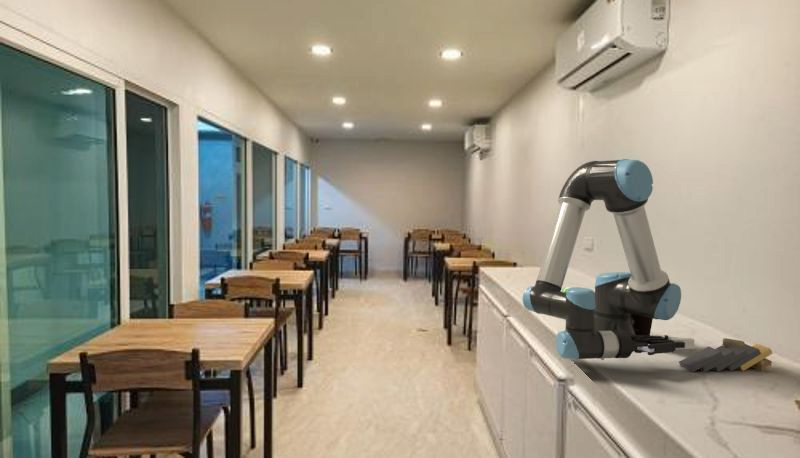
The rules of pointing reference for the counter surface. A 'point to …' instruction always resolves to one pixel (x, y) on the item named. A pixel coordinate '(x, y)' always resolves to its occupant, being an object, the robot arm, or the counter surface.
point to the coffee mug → (641, 324)
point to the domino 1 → (700, 359)
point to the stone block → (732, 343)
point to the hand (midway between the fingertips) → (692, 343)
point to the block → (763, 365)
